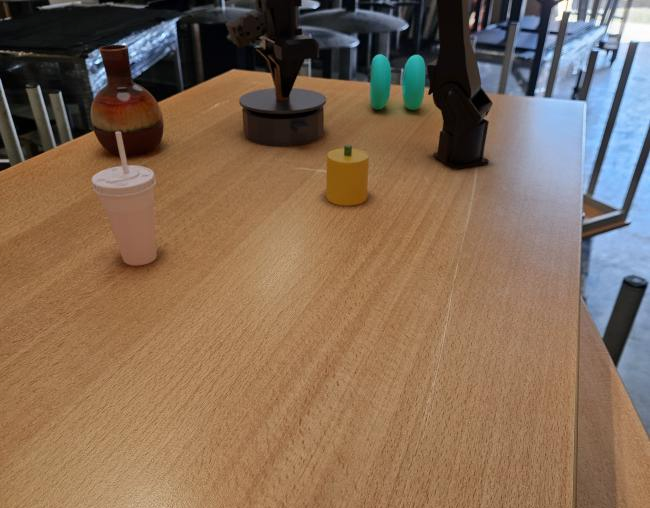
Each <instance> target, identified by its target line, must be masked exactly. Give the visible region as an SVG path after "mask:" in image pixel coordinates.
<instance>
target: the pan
mask: <svg viewBox="0 0 650 508" xmlns="http://www.w3.org/2000/svg"><path fill="white" fill-rule="evenodd" d="M241 112H242V125H243V126H242V127H243V133H244V136H245V138H246V139H247V140H249V141H251V142H253V143H254V144H259V145H263V146H269V147H271V146H272V147H293V146H302V145H306V144H310V143H313V142H316V141H318V140H320V139H321V138H322V137H323V136H324V128H325V126H324V124H325V123H324V120H325V119H324V115H325V113H324V112H325V109H324V106H322V107H320V108H318V109H315V110H312V111H307V112H301V113H295V114H268V113H261V112H255V111H251V110H248V109H245V108H243V107H242V109H241Z"/></svg>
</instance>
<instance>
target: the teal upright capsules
mask: <svg viewBox="0 0 650 508" xmlns="http://www.w3.org/2000/svg"><path fill="white" fill-rule="evenodd" d="M424 59H425V58H424V57H422V55H420V54H413V55H412V56H410V57H409V58H408V59H407V60H406V62H405V65H404V68H403V75H402V84H401V85H402V86H401V87H402V88H401V89H402V93H401V94H402V101H403V104H404V105H405V106H406V108H407V109H409V110H410V111H415V110H418V109H419V108H421V106H422V104H423V100H424V97H425V96H424V95H425V90H426V89H425V88H426V63H425V60H424ZM370 67H371V68H370V76H369V77H370V78H369V79H370V80H369V102H370V106H371V107H372V108H373V109H374V110H376V111H379V110H382V109H384V108H385V107H386V105H387V104H388V102H389V99H390V95H391V86H392V67H391V62H390V61H389V59H388V57H386V56H385V55H384V54H380V53H378V54H376V55H375V56H374V57H372V60H371V65H370Z"/></svg>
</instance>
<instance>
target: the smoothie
mask: <svg viewBox="0 0 650 508" xmlns="http://www.w3.org/2000/svg"><path fill="white" fill-rule="evenodd" d="M115 134H116V139H117V144H118V149H119V153H120V156H119V158H120V163H121V165H118V166H112V167H107V168H106V169H102V170H100V171H98V172H97V173H95V174H94V175H93V176H92V177H91V184H92V190H93V192H94V193H96V194H97V195H98V197H99V200H100V204H101V206H102V208H103V211H104V214H105V216H106V218H107V219H106V220H107V221H108V224H109V227H110V230H111V232H112V234H113V237H114V240H115V242H116V245H117V247H118V251H119V254H120V256H121V258H122V261H123V263H125V264H126V265H128V266H138V267H139V266H143V265H148V264H151V263H152V262H154V261H155V260H156V259H157V256H158V255H157V252H158V251H157V235H156V215H155V213H156V211H155V191H154V187H155V185H156V183H157V180H156V178H155V172H154V171H153V170H152V169H151V168H149V167H146V166H142V165H134V164H133V165H130V164H129V165H128V161H127V156H126V155H125V150H124V145H123V140H122V135H121V132H115Z"/></svg>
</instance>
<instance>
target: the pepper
mask: <svg viewBox="0 0 650 508" xmlns="http://www.w3.org/2000/svg"><path fill="white" fill-rule="evenodd" d="M369 160H370V155H369V153H368V152H367V151H365V150H362V149H358V148H353V146H352V145H351V144H345V145H344V146H343V147H342V148H336V149H335V148H334V149H331V150H330V151H328V152H327V153H326V191H325V193H326V195H325V197H326V200H327V201H328V202H329V203H332V204H334V205H337V206H344V207H346V206H347V207H350V206H358V205H361V204H363V203H365V202H366V201H367V199H368V184H369V166H370V165H369V162H370V161H369Z"/></svg>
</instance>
